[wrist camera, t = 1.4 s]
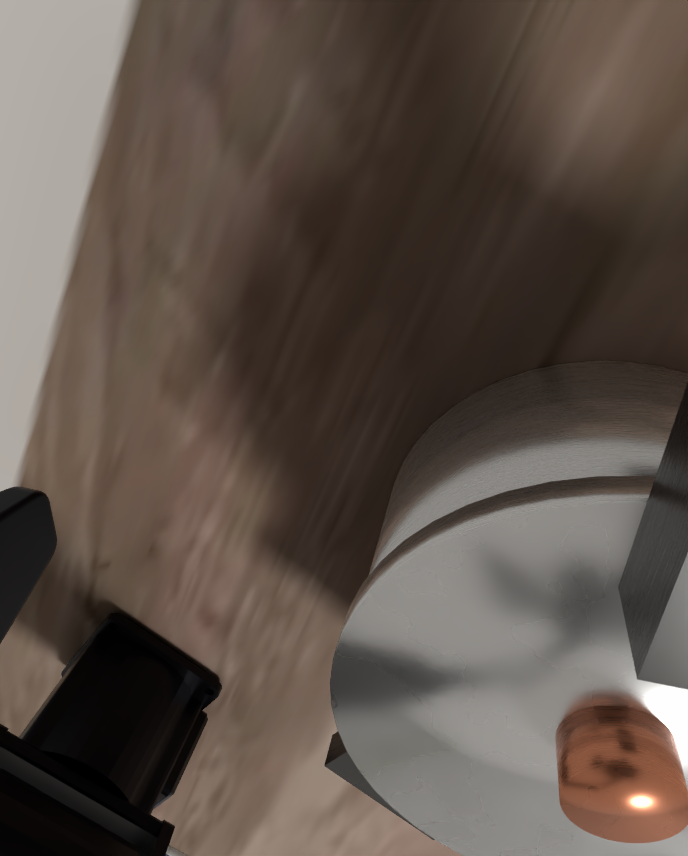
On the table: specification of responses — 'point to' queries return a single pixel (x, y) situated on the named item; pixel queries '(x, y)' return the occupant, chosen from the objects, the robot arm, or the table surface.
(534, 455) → the pressure cooker pot
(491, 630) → the cooker lid
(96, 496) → the table surface
